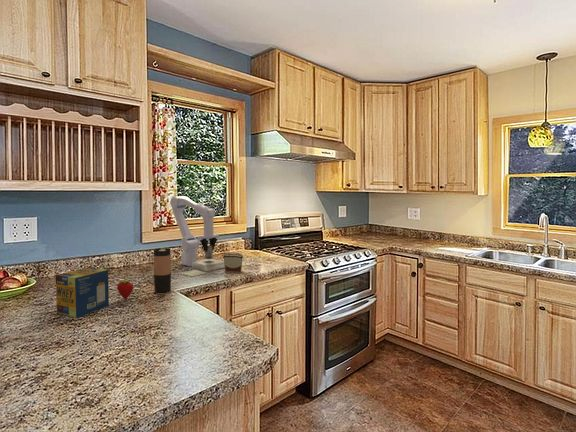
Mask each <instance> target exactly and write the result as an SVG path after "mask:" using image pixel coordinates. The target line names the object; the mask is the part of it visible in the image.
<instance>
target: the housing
mask: <svg viewBox="0 0 576 432" xmlns="http://www.w3.org/2000/svg"><path fill="white" fill-rule="evenodd" d="M191 268H192V269H194V270H198V271H202V272H206V273H209V272H211V271H215V270H221V269H225V265H224V260H218V259H214V258H212V259H205V258H204V259H201V260H196V261H195V262H192V266H191Z"/></svg>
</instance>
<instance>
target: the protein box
mask: <svg viewBox="0 0 576 432" xmlns="http://www.w3.org/2000/svg"><path fill="white" fill-rule="evenodd" d="M55 294H56V295H55V297H56V299H55V300H56V315H61V316H64V315H65V316H64V317H69V318H70V317H71V318H74V319H77V318H80V317H83V316H85V314H86V315H88V314H90V312H91V313H93V311H94V312H96V311H99V310H101V308H102V309H103V308H107V307H109V306H110V301H109V298H110V297H109V294H110V293H109V269H105V268H99V267H94V266H87V267H84V268H83V267H82V268H80V269H76V270H72V271H67V272H63V273H59V274H56V275H55ZM98 309H99V310H98Z"/></svg>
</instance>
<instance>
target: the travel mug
mask: <svg viewBox="0 0 576 432" xmlns="http://www.w3.org/2000/svg"><path fill="white" fill-rule="evenodd" d="M171 255H172V254H171V248H168V247H167V248H166V247H165V248H163V249H162V248H155V249H153V286H154V293H155V294H158V293H163V294H168V293H170V292H171V289H172V287H171V285H172V256H171ZM167 292H168V293H167Z"/></svg>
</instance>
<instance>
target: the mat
mask: <svg viewBox="0 0 576 432" xmlns="http://www.w3.org/2000/svg"><path fill="white" fill-rule="evenodd" d="M205 274H207V272H206V271H202V270H198V269H193V270H189V271H184V272H180V275H183V276H187V277H190V278H193V277H198V276H202V275H205Z"/></svg>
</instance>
